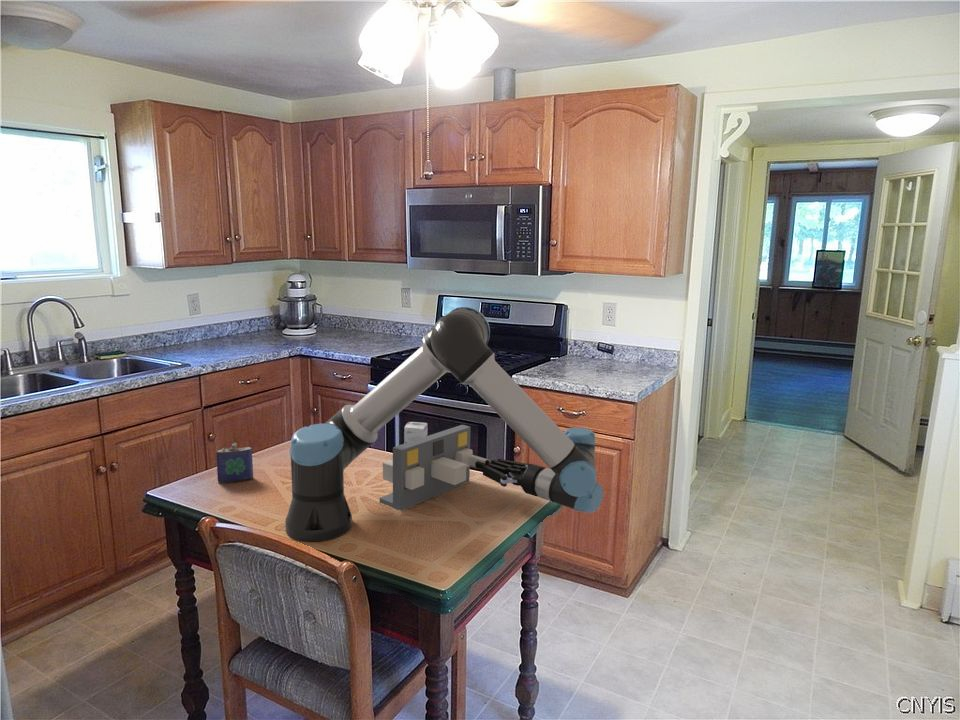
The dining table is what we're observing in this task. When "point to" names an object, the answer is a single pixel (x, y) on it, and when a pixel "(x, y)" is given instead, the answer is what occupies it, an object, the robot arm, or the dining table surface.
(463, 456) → the button right
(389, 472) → the button left
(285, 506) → the dining table surface
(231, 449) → the flask
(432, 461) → the button mid
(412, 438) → the syrup box
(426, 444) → the light board
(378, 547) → the dining table surface
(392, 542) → the dining table surface
